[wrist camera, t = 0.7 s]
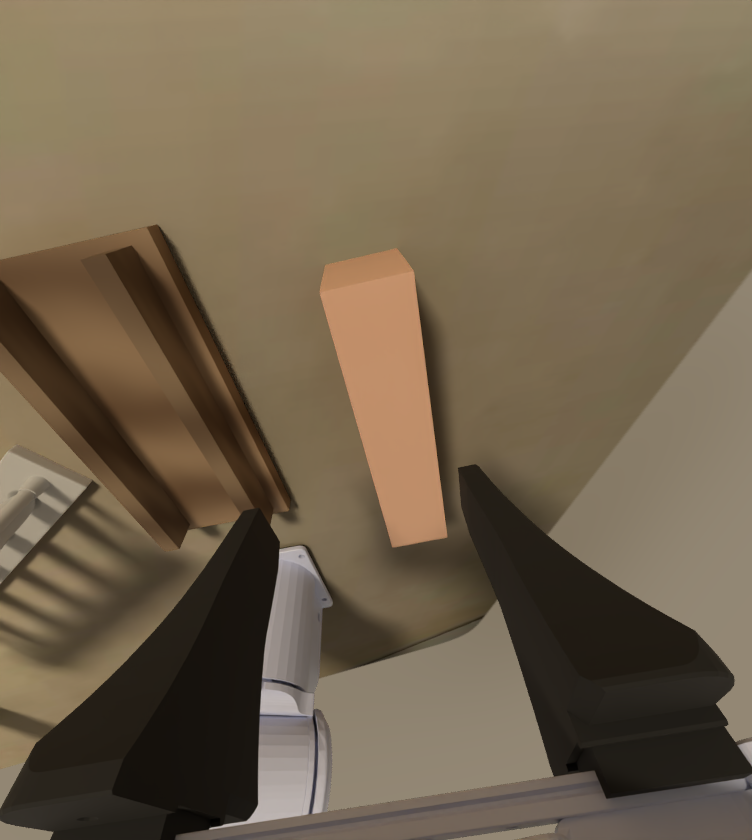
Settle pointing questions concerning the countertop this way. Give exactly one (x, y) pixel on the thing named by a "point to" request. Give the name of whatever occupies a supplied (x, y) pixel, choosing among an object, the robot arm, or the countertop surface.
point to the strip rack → (134, 382)
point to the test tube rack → (31, 501)
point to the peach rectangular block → (388, 387)
